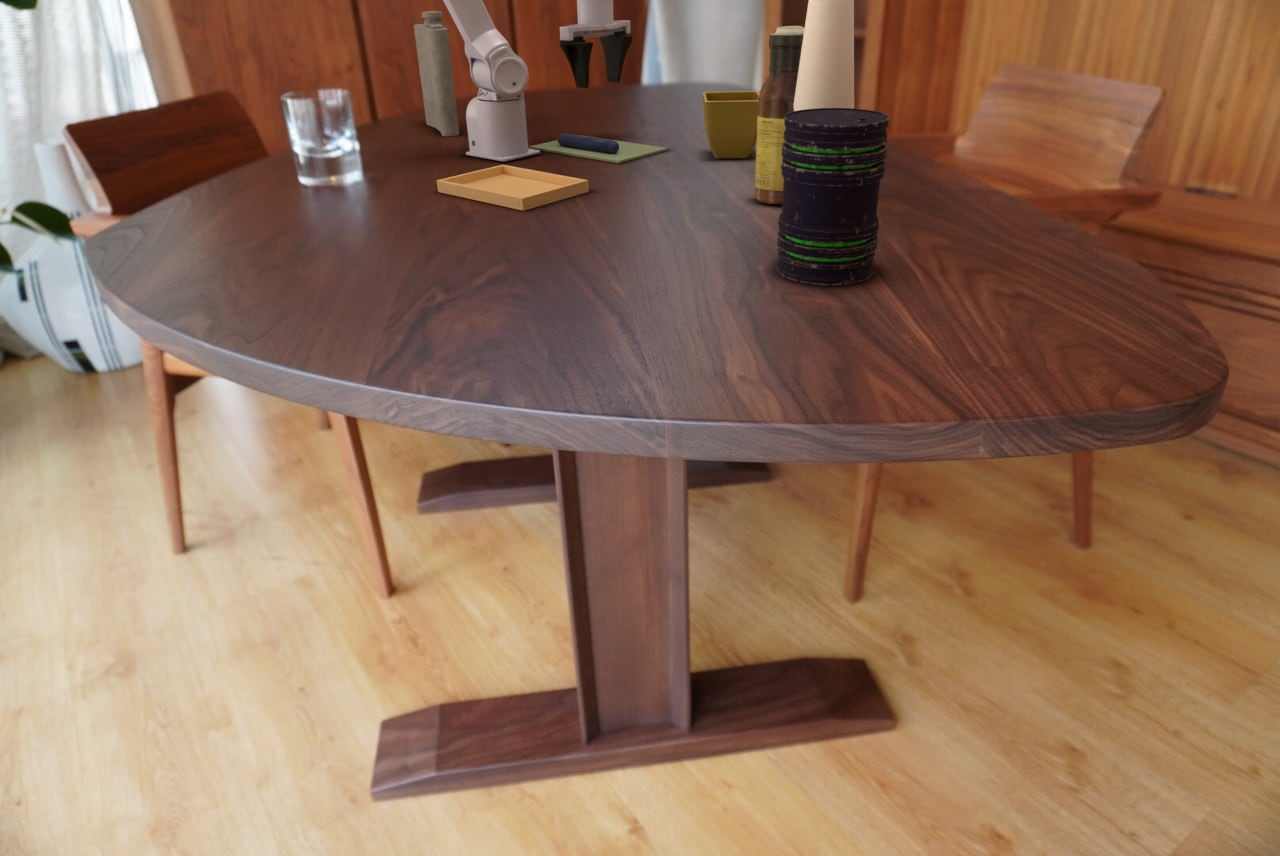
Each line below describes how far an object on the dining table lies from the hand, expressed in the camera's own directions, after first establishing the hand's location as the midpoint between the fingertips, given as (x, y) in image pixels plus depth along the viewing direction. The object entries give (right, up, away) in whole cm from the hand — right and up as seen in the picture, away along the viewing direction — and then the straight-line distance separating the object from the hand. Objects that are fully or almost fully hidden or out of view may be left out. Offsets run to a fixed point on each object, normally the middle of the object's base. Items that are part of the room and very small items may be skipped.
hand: (598, 84), depth 149 cm
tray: (-11, -24, -24) cm, 36 cm away
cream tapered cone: (+28, -32, -41) cm, 59 cm away
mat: (0, -11, 0) cm, 11 cm away
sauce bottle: (+25, -27, -32) cm, 48 cm away
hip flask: (-30, -1, +20) cm, 36 cm away
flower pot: (+21, -14, -7) cm, 26 cm away
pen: (-1, -9, -2) cm, 10 cm away
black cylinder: (+26, -40, -56) cm, 74 cm away
